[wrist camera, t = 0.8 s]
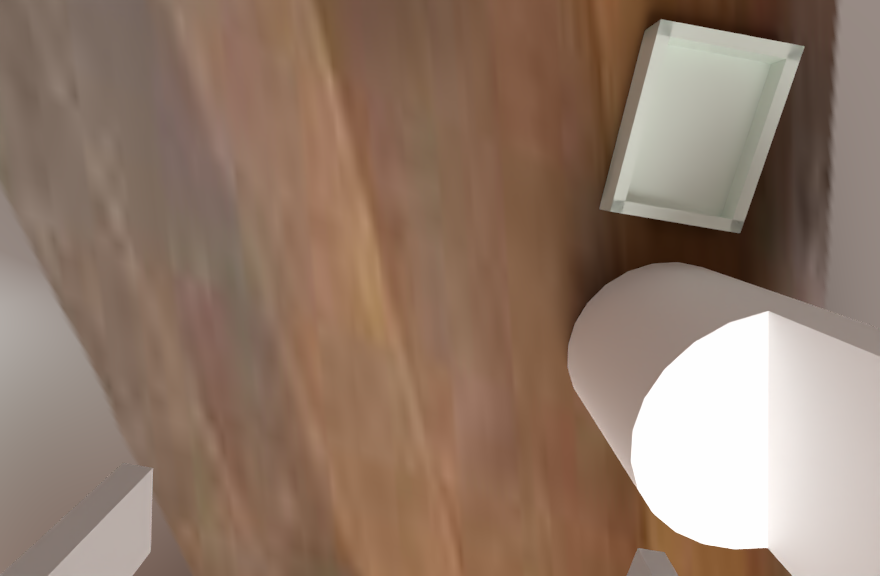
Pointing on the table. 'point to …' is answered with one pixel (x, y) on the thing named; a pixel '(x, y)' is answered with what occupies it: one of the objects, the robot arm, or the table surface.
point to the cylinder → (739, 413)
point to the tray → (698, 125)
